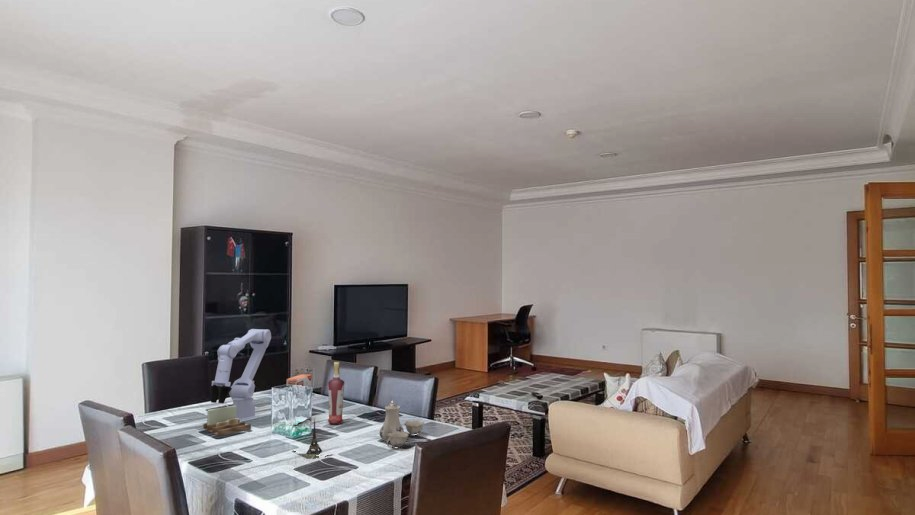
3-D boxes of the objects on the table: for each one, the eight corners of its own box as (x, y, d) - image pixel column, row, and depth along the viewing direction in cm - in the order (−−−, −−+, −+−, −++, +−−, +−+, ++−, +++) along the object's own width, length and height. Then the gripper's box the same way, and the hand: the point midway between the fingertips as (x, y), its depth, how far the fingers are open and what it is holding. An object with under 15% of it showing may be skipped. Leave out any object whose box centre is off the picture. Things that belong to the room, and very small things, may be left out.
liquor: (341, 425, 241) (342, 363, 242) (325, 425, 241) (326, 363, 243) (345, 421, 249) (346, 361, 250) (329, 420, 249) (331, 360, 250)
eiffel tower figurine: (290, 452, 205) (291, 417, 205) (314, 446, 212) (314, 413, 213) (310, 462, 194) (311, 425, 195) (334, 456, 202) (335, 420, 202)
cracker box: (296, 426, 239) (297, 379, 240) (284, 425, 240) (285, 378, 241) (311, 418, 253) (312, 374, 254) (299, 417, 254) (300, 373, 255)
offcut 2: (236, 425, 237) (237, 417, 237) (238, 425, 236) (238, 418, 236) (225, 427, 234) (225, 419, 234) (227, 428, 233) (227, 420, 233)
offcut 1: (227, 428, 232) (227, 420, 233) (228, 428, 231) (229, 421, 232) (215, 430, 229) (216, 422, 229) (217, 431, 228) (217, 423, 228)
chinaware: (406, 456, 205) (411, 413, 206) (365, 448, 209) (371, 406, 209) (425, 436, 233) (429, 398, 233) (389, 429, 236) (393, 392, 237)
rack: (234, 423, 242) (235, 417, 242) (250, 430, 231) (251, 424, 231) (203, 429, 232) (203, 423, 232) (218, 437, 221) (218, 430, 221)
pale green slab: (234, 423, 240) (234, 405, 241) (236, 424, 239) (236, 406, 239) (206, 428, 231) (207, 409, 232) (208, 429, 230) (209, 410, 230)
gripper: (207, 370, 241) (201, 401, 237) (221, 370, 231) (215, 402, 227) (222, 372, 245) (216, 402, 242) (237, 372, 236) (231, 404, 232)
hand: (217, 403), depth 235 cm, fingers open, 7 cm apart
